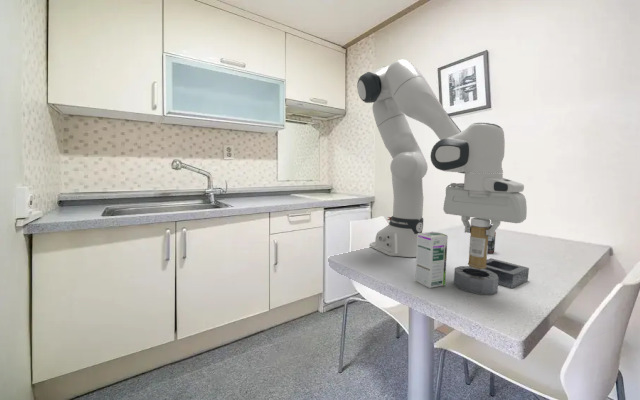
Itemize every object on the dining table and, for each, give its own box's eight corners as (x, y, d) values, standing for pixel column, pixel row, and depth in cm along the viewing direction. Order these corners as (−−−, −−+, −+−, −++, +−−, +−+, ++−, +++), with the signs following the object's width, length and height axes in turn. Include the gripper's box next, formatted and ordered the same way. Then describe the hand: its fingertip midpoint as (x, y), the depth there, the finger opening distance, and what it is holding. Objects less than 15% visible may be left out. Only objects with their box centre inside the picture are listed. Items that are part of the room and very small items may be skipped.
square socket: (473, 276, 84) (474, 263, 84) (490, 270, 90) (491, 258, 90) (512, 288, 76) (513, 274, 75) (527, 280, 82) (529, 267, 81)
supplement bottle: (477, 248, 116) (480, 222, 115) (494, 251, 113) (496, 224, 112) (476, 252, 111) (478, 224, 110) (493, 254, 108) (496, 226, 107)
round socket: (446, 283, 78) (447, 270, 78) (465, 276, 84) (466, 264, 84) (484, 298, 69) (486, 283, 69) (503, 289, 75) (505, 275, 75)
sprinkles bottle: (489, 267, 75) (493, 219, 74) (480, 270, 73) (484, 220, 72) (473, 263, 79) (476, 217, 78) (464, 265, 77) (467, 218, 76)
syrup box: (430, 288, 75) (433, 236, 73) (414, 280, 80) (417, 232, 78) (445, 285, 77) (448, 235, 75) (429, 278, 82) (432, 230, 81)
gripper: (440, 182, 81) (437, 229, 82) (520, 185, 64) (516, 243, 65) (452, 182, 84) (449, 226, 85) (531, 185, 67) (527, 240, 68)
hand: (479, 234), depth 75 cm, fingers closed on sprinkles bottle, 4 cm apart
